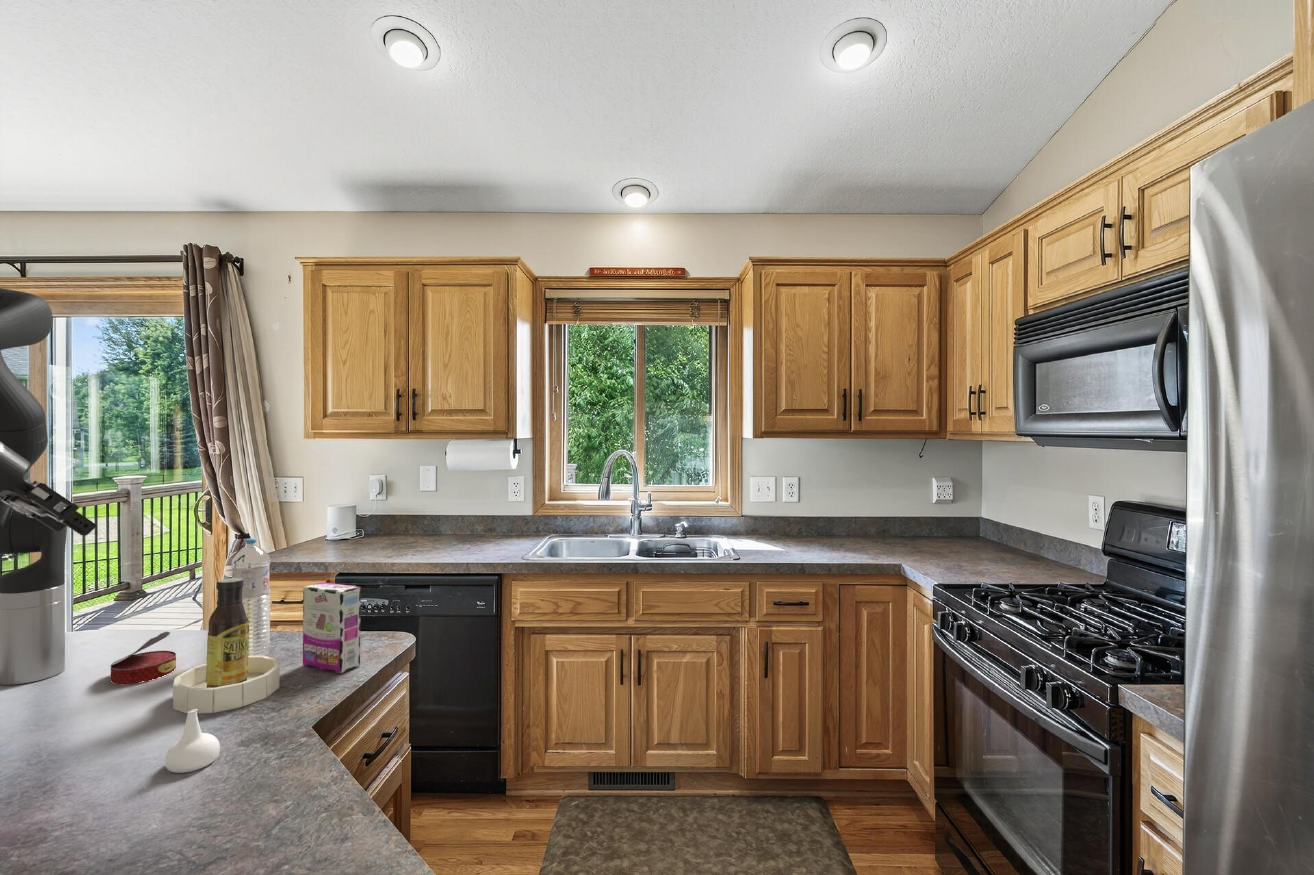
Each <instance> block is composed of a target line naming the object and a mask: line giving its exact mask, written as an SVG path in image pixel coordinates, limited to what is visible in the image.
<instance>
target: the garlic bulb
mask: <svg viewBox="0 0 1314 875" xmlns="http://www.w3.org/2000/svg"><path fill="white" fill-rule="evenodd" d="M197 710H198V709H192V710H191V711H190V712H187V716H186V719H185V725H184V731H183V734H182V737H181V738H180V739H178V740H177V741H175V742H174V743H173V744H172V745H171V747H170V748H169V749H168V750H167V753H166V755H165V758H164V765H165V767H166V769H167V770H168V771H169V772H171V773H176V774H183V773H191V772H194V771H198V770H200V769H202V768H203V769H204V768H205V767H207V766H209V765H210V764H212V763H214V762H215V761H216V759H217V758H218V757H219V755H220V752H221V751H220V750H221V745H220V740H218V738H217V737H216V736H215V735H213V734H211V733H207V732H202V730H201V726H200V723H199V718H198V713H197Z"/></svg>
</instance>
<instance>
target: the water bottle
mask: <svg viewBox="0 0 1314 875" xmlns="http://www.w3.org/2000/svg"><path fill="white" fill-rule="evenodd" d="M245 544H246V546H245V547H243V548H242V549H240V550H239V551H238V552H237V553H236V554H235V555H234V556H233V558H232V559H231V569H232V571H231V572H232V573H231V574H232V575H231V576H232V577H231V578H242V579H243V580H244V586H243V588H242V603H243V606H244V610H245V613H246V616H247V618H248V620H249V654H248V656H268V655H269V652H270V649H271V647H270V646H271V639H270V638H271V627H270V626H271V606H270V605H271V592H270V564H271V557H270V555H269V553H267V551H265V549H263V548H262V547H260V546H258V545H257V538H246V539H245Z"/></svg>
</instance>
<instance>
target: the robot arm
mask: <svg viewBox="0 0 1314 875" xmlns="http://www.w3.org/2000/svg"><path fill="white" fill-rule="evenodd" d="M53 321H54V317H53V312H52V309H51V306H50V305H49V303H48V302H47V301H46V300H45V299H43V298H42V297H41V296H39V295H36V294H33V293H29V292H25V291H20V290H13V289H8V288H2V287H1V288H0V555H15V554H16V555H17V554H30V553H31V554H32V553H41V555H40V558H39V559H37V560H36V561H35V562H32V563H30V564H29V565H26V566H23V567H21V568H18V569H15V570H11V571H9V572H6V573H4V574H1V575H0V685H2V686H4V685H5V686H6V685H7V686H9V685H11V686H12V685H21V684H28V683H33V682H37V681H41V680H45V679H49V678H51V677H54V676H56V675H58V674H61V673H62V672H64V671H65V669H66V572H65V571H66V544H67V533H68V532H67V531H68V528H69V529H71V530H72V531H74V532H75V533H77V534H79V535H80V536H83V537H86V536H88V535H90V533H91V532H93V531H94V530H95V529H96V527H97V524H96V523H94V522H93V521H92V520H90V519H89V518H87V517H86V516H85V515H83V514H82V513H80V512H79V511H78V510H79V509H80V507H79V506H78V505H77V504H76V503H73V502H72V501H70V500H69V499H67V498H66V497H64V496H62V494H60V493H58V492H57V491H55V490H54V489H52V488H51V487H49V486H48V484H46V483H42V482H38V481H36V480H33V481H30V480H29V479H28V480H27V479H25V475H26V473H28V472H29V470H30V469H31V468H32V467H33V466H34V465H35V463H36V462H37V461H38V460H39V459H40V457H42V456H43V454H44V452H45V451H46V448H47V447H48V442H49V438H48V436H49V435H48V429H47V428H48V427H47V417H46V413H45V412H46V411H45V410H44V407H43V406H42V404H41V403H40V401H39V400H38V399H37V398H36V396H35V395H33V393H32V392H31V391H30V390H29V389H28V388H27V386H26V385H24V384H23V383H22V382H21V381H20V379H19V378H18V377H17V376H16V375H15V374H14V373H13V372H12V371H11V369H10V368H9V366H8V365H7V363H6V361H5V359H4V356H3V354H2V350H7V349H13V348H20V347H26V346H27V347H28V346H33V345H36V344H39V343H41V342H42V341H44V340H45V339H46V338H47V337H48V336H49V334H50V332H51V330H52V327H53Z"/></svg>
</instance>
